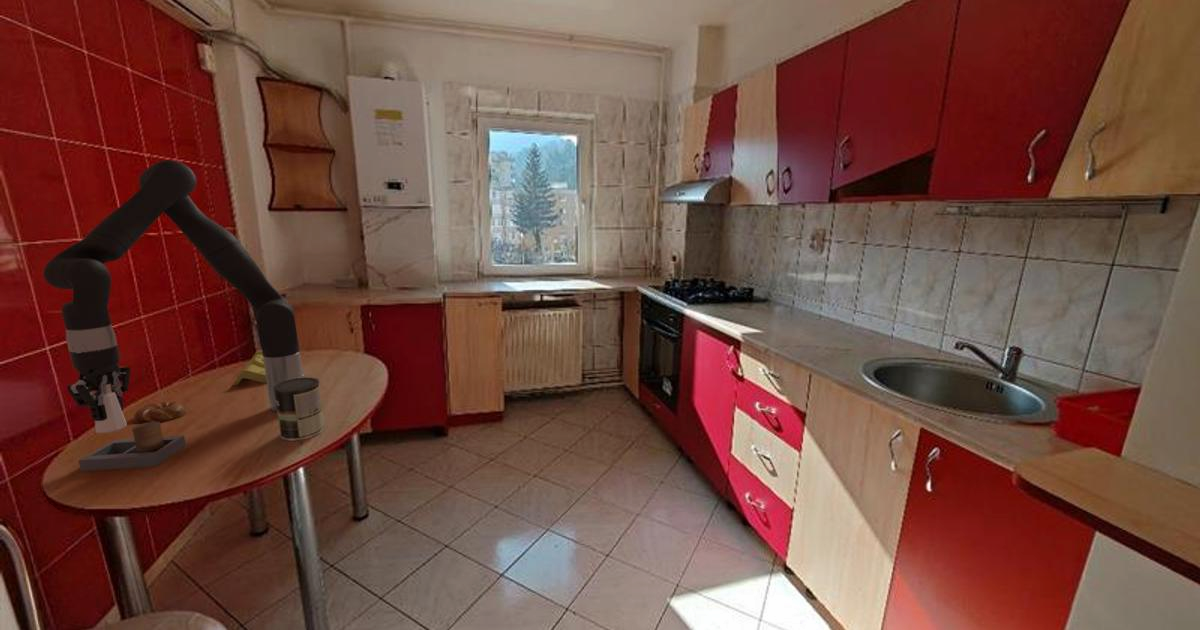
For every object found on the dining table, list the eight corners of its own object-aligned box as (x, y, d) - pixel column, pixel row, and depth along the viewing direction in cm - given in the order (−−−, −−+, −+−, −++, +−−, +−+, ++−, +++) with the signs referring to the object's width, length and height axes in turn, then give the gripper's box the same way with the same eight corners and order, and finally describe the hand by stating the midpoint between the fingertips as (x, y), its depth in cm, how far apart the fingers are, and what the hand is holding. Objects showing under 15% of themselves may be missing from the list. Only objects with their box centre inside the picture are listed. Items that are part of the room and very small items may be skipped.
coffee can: (276, 444, 121) (268, 393, 117) (285, 427, 130) (278, 380, 127) (322, 437, 125) (315, 387, 121) (327, 421, 134) (321, 375, 131)
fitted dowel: (171, 450, 115) (165, 421, 113) (156, 460, 110) (149, 430, 109) (149, 452, 114) (142, 422, 112) (133, 462, 110) (126, 431, 108)
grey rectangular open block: (186, 448, 118) (184, 435, 117) (156, 469, 108) (153, 455, 108) (118, 452, 116) (115, 439, 115) (81, 474, 106) (78, 460, 105)
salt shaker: (120, 431, 108) (110, 387, 106) (89, 435, 106) (78, 390, 104) (132, 421, 113) (123, 379, 111) (103, 425, 111) (93, 381, 109)
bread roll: (198, 410, 141) (196, 398, 140) (164, 426, 130) (162, 414, 130) (160, 408, 141) (158, 397, 141) (123, 424, 131) (121, 412, 130)
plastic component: (272, 376, 162) (239, 368, 158) (264, 395, 163) (231, 387, 158) (284, 356, 180) (254, 348, 175) (277, 373, 180) (247, 365, 176)
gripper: (102, 338, 112) (116, 404, 115) (42, 355, 98) (61, 430, 102) (137, 337, 113) (150, 403, 116) (83, 354, 99) (100, 428, 103)
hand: (108, 415), depth 109 cm, fingers closed on salt shaker, 3 cm apart
